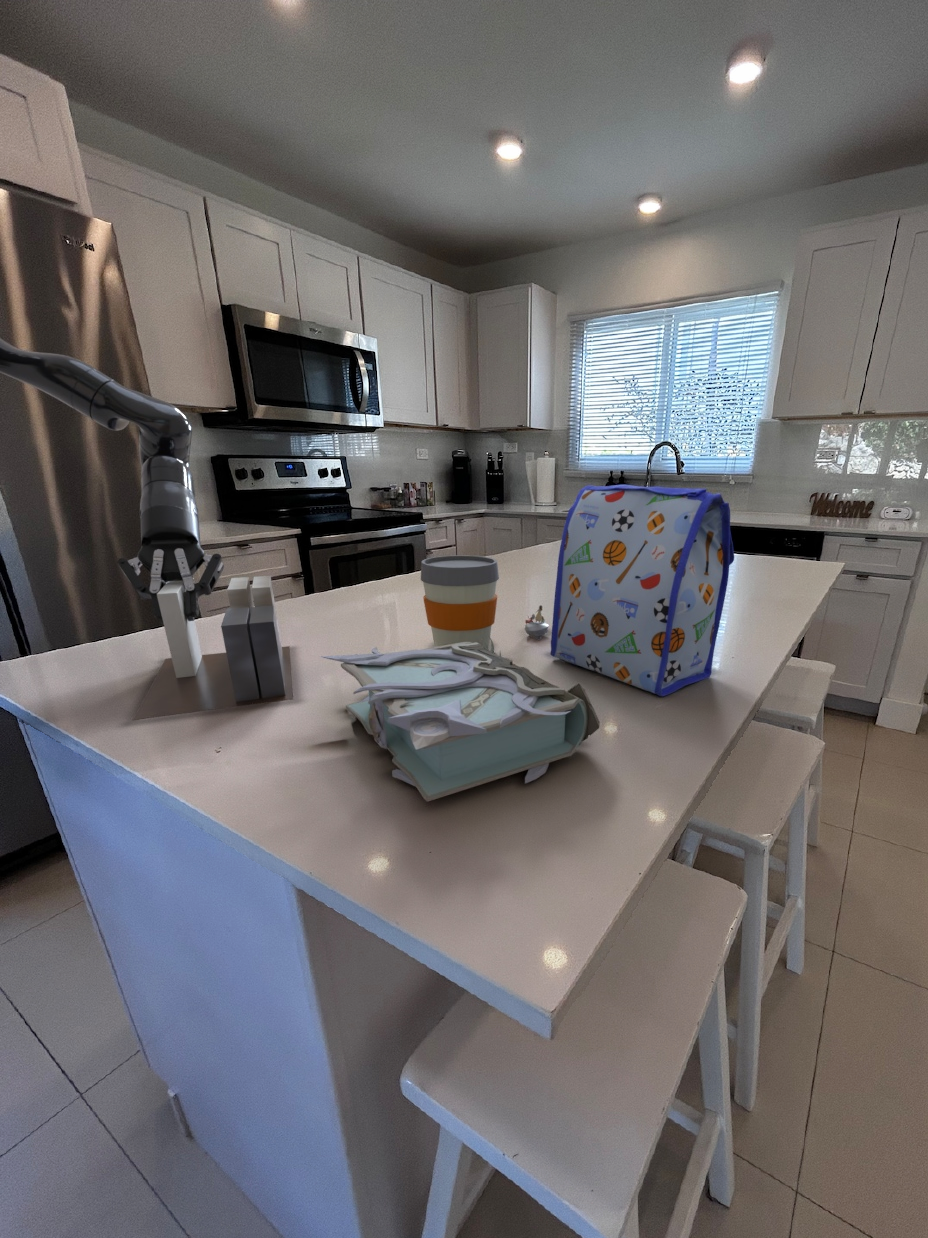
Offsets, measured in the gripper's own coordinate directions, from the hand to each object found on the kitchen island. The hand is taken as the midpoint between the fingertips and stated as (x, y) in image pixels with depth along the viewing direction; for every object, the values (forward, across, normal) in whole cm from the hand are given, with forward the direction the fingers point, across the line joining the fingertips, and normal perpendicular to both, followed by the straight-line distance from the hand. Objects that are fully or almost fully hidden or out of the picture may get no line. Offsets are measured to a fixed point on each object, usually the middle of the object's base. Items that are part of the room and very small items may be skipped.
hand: (176, 619), depth 79 cm
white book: (+4, 0, -7) cm, 8 cm away
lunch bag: (+20, -63, +7) cm, 67 cm away
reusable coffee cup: (+7, -41, -6) cm, 42 cm away
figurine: (+5, -56, -8) cm, 57 cm away
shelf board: (+9, -5, -4) cm, 11 cm away
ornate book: (+29, -31, +16) cm, 45 cm away
